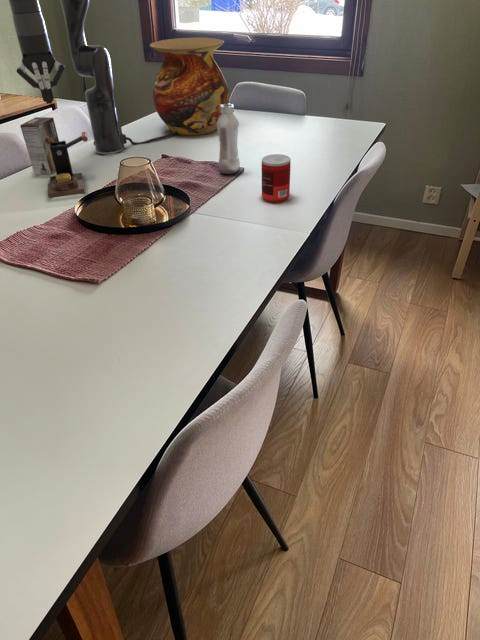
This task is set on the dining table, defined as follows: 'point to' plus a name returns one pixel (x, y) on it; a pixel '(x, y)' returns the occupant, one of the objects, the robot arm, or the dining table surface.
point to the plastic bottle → (228, 140)
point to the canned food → (275, 178)
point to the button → (63, 178)
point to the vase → (189, 85)
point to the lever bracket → (62, 160)
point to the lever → (77, 140)
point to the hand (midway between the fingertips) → (49, 102)
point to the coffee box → (40, 143)
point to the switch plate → (65, 188)
